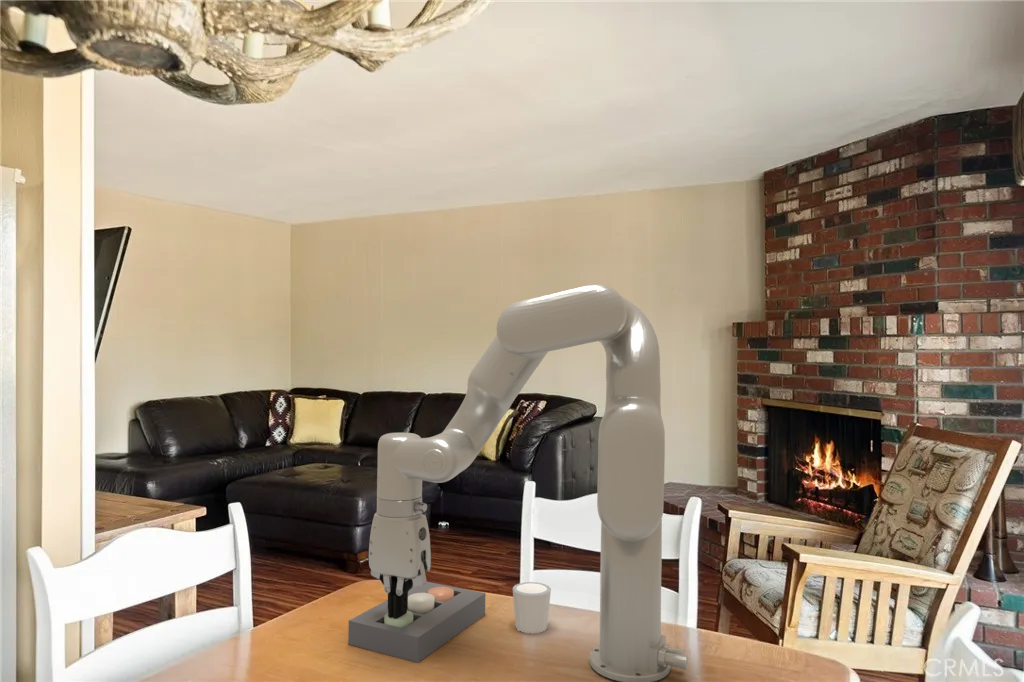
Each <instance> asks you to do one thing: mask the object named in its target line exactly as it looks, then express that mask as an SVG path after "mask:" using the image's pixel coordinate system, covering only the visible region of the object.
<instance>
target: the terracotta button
mask: <svg viewBox="0 0 1024 682" xmlns="http://www.w3.org/2000/svg"><path fill="white" fill-rule="evenodd" d="M428 593H429V594H432V595H434V600H438V601H443V602H446V601H448V600H450V599H451V598H453V597H454V590H453V589H452V588H449V587H434V588H431V589H429V590H428Z"/></svg>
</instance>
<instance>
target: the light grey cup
mask: <svg viewBox="0 0 1024 682" xmlns="http://www.w3.org/2000/svg"><path fill="white" fill-rule="evenodd" d="M551 591H552V588H551V587H550V586H549V585H547V584H545V583H542V582H534V581H527V582H526V581H525V582H520V583H517V584H515V585H513V587H512V596H513V597H512V598H513V610H514V623H515V624H514V625H515V629H516V628H517V629H516V630H517V631H519V632H520V631H521V632H520V633H523V632H524V633H523V634H529V633H531V634H534V633H535V634H541V633H543V631H544V632H545V631H547V628H548V622H549V612H550V603H551V602H550V600H551ZM540 632H541V633H540ZM531 634H530V635H531Z"/></svg>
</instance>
